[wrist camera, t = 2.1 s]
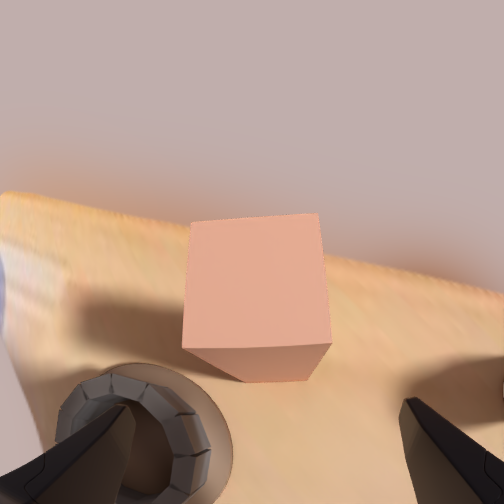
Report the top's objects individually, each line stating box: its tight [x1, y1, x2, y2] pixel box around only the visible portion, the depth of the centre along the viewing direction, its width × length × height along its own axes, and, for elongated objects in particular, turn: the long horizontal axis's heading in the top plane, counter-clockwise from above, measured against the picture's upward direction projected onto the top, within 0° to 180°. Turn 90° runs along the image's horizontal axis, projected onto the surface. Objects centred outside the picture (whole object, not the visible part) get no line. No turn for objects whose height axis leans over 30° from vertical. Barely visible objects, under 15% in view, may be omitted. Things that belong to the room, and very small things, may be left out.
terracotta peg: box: [182, 213, 332, 383], centre depth 15 cm, size 4×4×13 cm
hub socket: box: [55, 364, 233, 504], centre depth 16 cm, size 12×12×4 cm
